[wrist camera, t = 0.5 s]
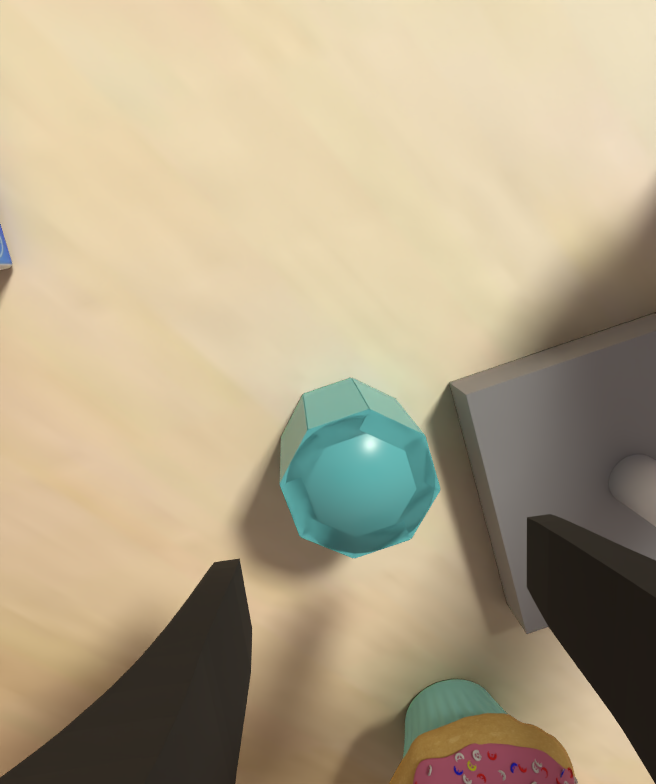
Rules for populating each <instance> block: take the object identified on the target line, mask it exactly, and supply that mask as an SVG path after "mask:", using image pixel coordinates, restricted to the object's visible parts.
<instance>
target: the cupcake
mask: <svg viewBox="0 0 656 784" xmlns="http://www.w3.org/2000/svg"><path fill="white" fill-rule="evenodd" d="M389 784H578V782H577V779H576V777H575V774H574V770H573V766H572V763H571V761H570V758H569V756H568V754H567V752H566V750H565V749H564V747H563V746H562V745H561V744H560V742H559V741H558V740H557V739H556V738H555V737H553V736H552V735H550V734H548V733H546V732H545V731H543V730H542V729H540V728H538V727H537V726H534V725H531V724H526V723H522V722H520V721H518V720H516V719H515V718H513V717H512V716H510V715H508V714H507V713H506V712H505V711H504V710H503V709H502V708H501V707H500V705H499V704H498V703H497V702H496V701H495V700H494V699H493V698H492V697H491V695H490V694H489V693H488V692H487V691H486V690H485V689H484V688H483V687H481V686H480V685H478V684H476V683H474V682H471V681H467V680H461V679H451V680H445V681H441V682H438V683H435V684H433V685H431V686H429V687H427V688H425V689H424V690H423V691H421V692H420V693H419V694H418V695H417V696H416V697H415V698H414V699H413V701H412V702H411V704H410V706H409V708H408V710H407V713H406V718H405V741H404V754H403V760H402V761H401V763H400V764H399V766H398V768H397V770H396V772H395V773H394V775H393V777H392V779H391V781H390V783H389Z"/></svg>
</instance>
